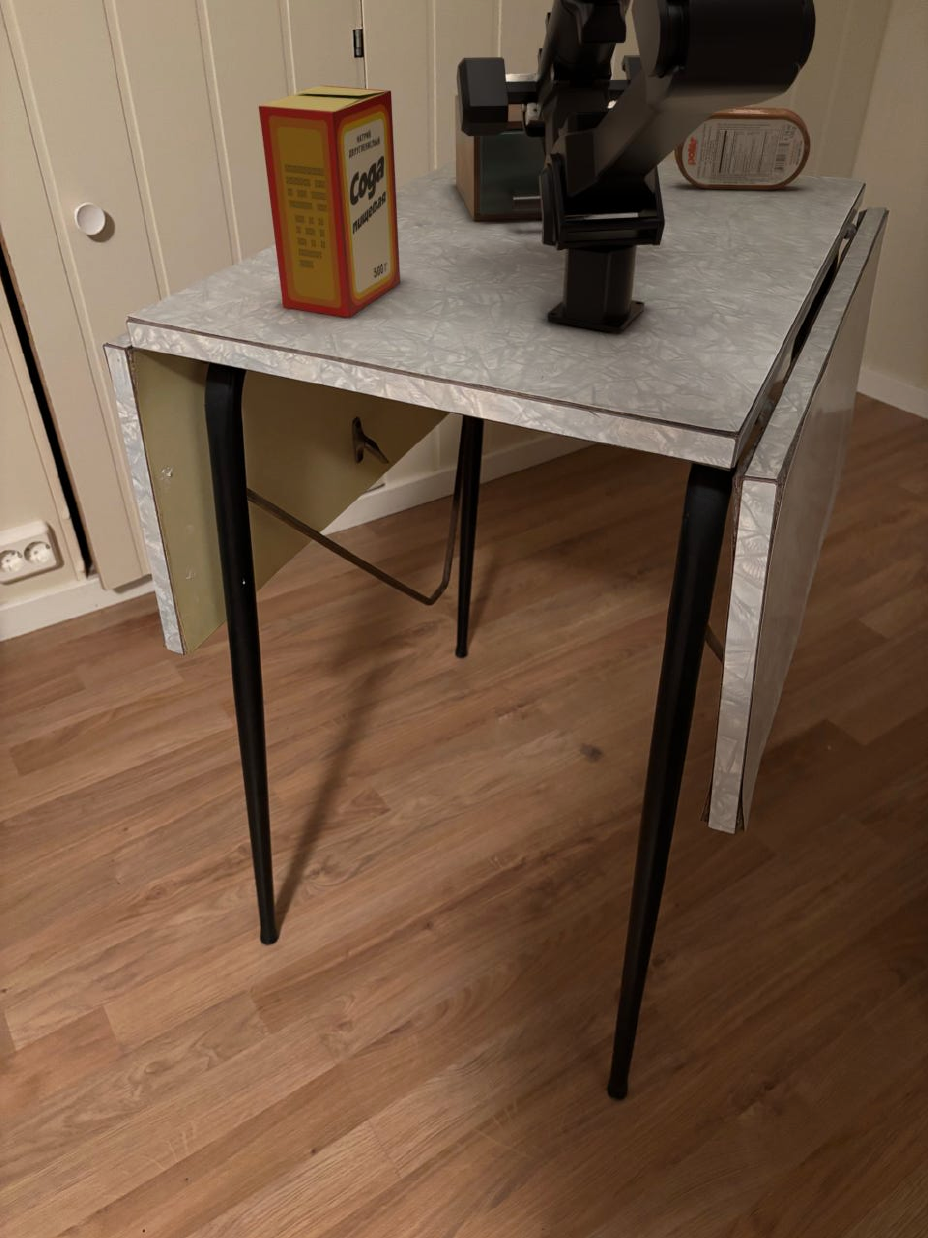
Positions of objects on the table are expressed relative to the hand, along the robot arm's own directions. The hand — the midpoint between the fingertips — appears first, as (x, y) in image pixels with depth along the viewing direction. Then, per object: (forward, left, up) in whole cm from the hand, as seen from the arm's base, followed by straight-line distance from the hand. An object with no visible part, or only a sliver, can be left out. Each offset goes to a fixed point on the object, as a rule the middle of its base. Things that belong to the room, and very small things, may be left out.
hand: (548, 152), depth 94 cm
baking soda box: (-23, +10, -8) cm, 26 cm away
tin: (+27, -12, -8) cm, 31 cm away
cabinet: (+12, +8, -8) cm, 17 cm away
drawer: (+9, +6, -7) cm, 13 cm away
